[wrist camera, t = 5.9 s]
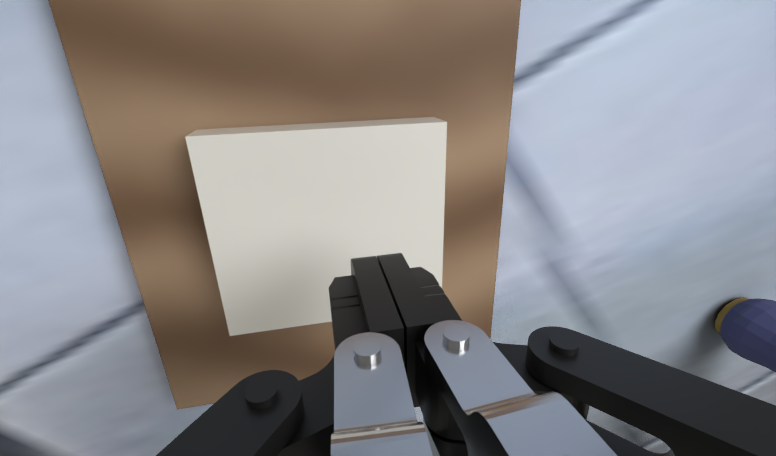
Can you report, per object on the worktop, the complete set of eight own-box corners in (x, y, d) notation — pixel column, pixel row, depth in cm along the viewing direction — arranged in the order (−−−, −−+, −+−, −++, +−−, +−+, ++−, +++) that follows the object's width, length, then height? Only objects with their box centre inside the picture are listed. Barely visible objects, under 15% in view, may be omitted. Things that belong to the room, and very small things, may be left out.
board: (60, -25, 13) (38, -33, 12) (508, -20, 16) (523, -27, 15) (184, 390, 20) (177, 409, 19) (479, 342, 23) (488, 356, 22)
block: (432, 116, 16) (198, 128, 14) (447, 121, 14) (185, 136, 13) (429, 286, 19) (236, 311, 17) (441, 305, 17) (229, 336, 16)
